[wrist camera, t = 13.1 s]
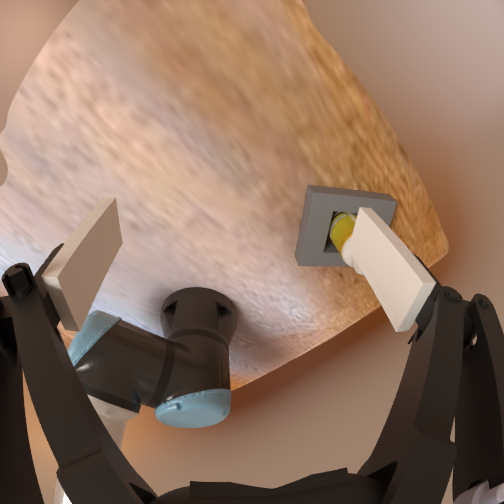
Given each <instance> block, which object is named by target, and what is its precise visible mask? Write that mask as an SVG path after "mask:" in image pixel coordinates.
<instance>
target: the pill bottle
mask: <svg viewBox="0 0 504 504" xmlns="http://www.w3.org/2000/svg"><path fill="white" fill-rule="evenodd" d="M356 219H357V214H356V213H349V212H336V213H335V214H333V215H332V218H331V223H330V227H329V231H328V235H329V237H330V239H331V240H332V242H333V243H334V245H335V247H336V248H337V250H338V252H339V253H340V255H341V257H342V258H343V260H344V262H345V263H346V264H347V265H349V266H351V267H353V268H354V269H355V271H356V272H357V273H359V274H361V275H364V274H363V272H362V271H361V269H360V267H359V266H358V264H357V262H356V261H355V259H354V258H353V256H352V254H351V253H350V251H349V249H348V247H349V244H350V240H351V237H352V233H353V230H354V226H355V223H356Z"/></svg>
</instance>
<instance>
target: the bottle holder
mask: <svg viewBox="0 0 504 504" xmlns="http://www.w3.org/2000/svg"><path fill="white" fill-rule="evenodd" d="M396 205H397V201H396V200H395V199H393V198H392V197H391V196H390V195H389V194H382V193H374V192H367V191H359V190H350V189H342V188H332V187H322V186H312V185H308V187H307V193H306V199H305V204H304V210H303V216H302V221H301V226H300V232H299V237H298V242H297V247H296V252H295V257H296V260H297V263H298V266H349V265H347V264H346V263H345V262H344V260H343V258H342V257H341V255H340V253H339V252H338V250H337V248H336V247H335V245H334V243H326V239H327V235H328V231H329V227H330V223H331V218H332V214H333V211H337V212H349V213H358V212H359V208H360V207H365V208H371V209H372V210H373V211H374V212H375V213H376V214H377V215H378V216H379V217H380V218H381V219H382V220H383V221H384V222H385V223H386V224H387V225H388V227H390V224H391V221H392V218H393V214H394V211H395V208H396Z"/></svg>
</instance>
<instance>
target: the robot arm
mask: <svg viewBox="0 0 504 504" xmlns="http://www.w3.org/2000/svg"><path fill="white" fill-rule="evenodd" d="M122 243H123V242H122V237H121V231H120V224H119V218H118V211H117V204H116V198H103V199H102V200H101V201H100V202H99V203H98V204H97V205H96V206H95V208H94V209H93V210H92V211H91V212H90V213H89V215H88V216H87V217H86V218H85V219H84V220H83V222H82V223H81V224H80V225H79V226H78V228H77V229H76V230H75V231H74V233H73V234H72V235H71V236H70V238H69V239H68V240H67V241H66V243H65V244H64V243H62V244H60V245H59V246H58V247H56V248H55V249H54V250H53V251H52V252H51V254H50V255H49V256H48V258H47V259H46V260H45V262H44V264H42V266H41V267H40V268H39V270H38V271H37V273H36V274H35V275H34V276H33V274H32V271H31V269H30V266H29V265H28V264H27V263H18V264H15V265H13V266H11V267H10V268H8V269H7V270H6V271H5V273H4V274H3V276H2V282H3V284H4V286H5V288H6V290H7V292H8V294H9V296H4V297H0V504H44V501H43V498H42V494H41V491H40V487H39V484H38V480H37V476H36V473H35V468H34V464H33V459H32V455H31V450H30V444H29V439H28V432H27V425H26V417H25V407H24V395H23V375H22V374H23V372H24V375H25V379H26V383H27V386H28V390H29V392H30V396H31V399H32V402H33V405H34V408H35V411H36V414H37V416H38V419H39V422H40V424H41V427H42V429H43V432H44V434H45V436H46V439H47V441H48V443H49V445H50V448H51V450H52V452H53V454H54V456H55V458H56V460H57V463H58V465H59V468H58V470H57V472H56V473H57V482H56V490H55V500H54V504H441V502H442V499H443V496H444V493H445V491H446V488H447V485H448V482H449V478H450V475H451V472H452V469H453V483H452V485H453V486H452V487H453V488H452V489H453V504H504V334H503V331H502V328H501V325H500V322H499V319H498V317H497V314H496V311H495V309H494V306H493V304H492V303H491V302H490V300H489V299H488V298H487V297H486V296H485V295H482V294H475V295H474V297H473V299H472V300H471V302H469V301H465V300H463V298H462V296H461V295H460V294H459V293H458V292H457V291H456V290H454V289H453V288H451V287H447V286H443V287H442V286H441V285H440V283H439V282H438V281H437V279H436V278H435V277H434V275H433V274H432V273H431V272H430V271H429V269H428V268H427V267H426V266H424V263H423V262H422V261H421V260H420V258H419V257H417V256H416V255H415V254H413V253H412V252H411V251H410V250H409V249H408V248H407V247H406V246H405V244H404V243H403V242H402V241H401V240H400V239H399V238H398V236H397V235H396V234H395V233H394V232H393V231H392V230H391V229H390V228H389V227H388V225H387V224H386V223H385V222H384V221H383V220H382V219H381V218H380V217H379V216H378V215H377V214H376V213H375V212H374V211H373V210H372V209H371V208H365V207H360V208H359V212H358V215H357V219H356V223H355V226H354V230H353V233H352V237H351V240H350V244H349V247H348V249H349V251H350V253H351V254H352V256H353V258H354V259H355V261H356V262H357V264H358V266H359V267H360V269H361V271H362V272H363V274H364V276H365V277H366V279H367V281H368V282H369V284H370V286H371V288H372V289H373V291H374V293H375V294H376V296H377V298H378V300H379V302H380V303H381V305H382V307H383V309H384V310H385V312H386V314H387V316H388V318H389V320H390V321H391V323H392V325H393V327H394V329H395V331H396V332H401V331H407V330H410V328H411V326H412V325H413V323H414V321H416V323H417V324H418V328H417V329H416V331H415V333H414V334H413V336H412V337H411V339H410V340H409V342H408V344H410V343H411V341H413V342H412V345H411V349H410V353H409V357H408V360H407V363H406V367H405V370H404V373H403V376H402V379H401V382H400V385H399V388H398V391H397V394H396V398H395V400H394V402H393V405H392V408H391V410H390V413H389V416H388V418H387V420H386V423H385V426H384V428H383V430H382V432H381V435H380V437H379V439H378V441H377V444H376V446H375V448H374V450H373V452H372V454H371V456H370V457H369V459H368V460H367V461H366V462H365V463H364V465H363V466H362V467H361V468H360V470H359V471H358V473H357V474H352V473H348V471H347V468H342V469H338V470H333V471H329V472H323V473H318V474H312V475H310V476H307V477H305V478H302V479H300V480H297V481H295V482H292V483H289V484H287V485H284V486H281V487H278V488H274V489H269V488H261V487H254V486H248V485H243V484H237V483H232V482H196V481H190V486H188V487H182V488H179V489H175V490H172V491H170V492H168V493H165V494H163V495H161V496H159V497H158V496H157V495H156V493H155V492H154V491H153V490H152V489H151V488H150V486H149V485H148V484H147V483H146V482H145V481H144V480H143V479H142V477H141V476H140V475H139V474H137V472H136V471H135V470H134V469H133V467H132V466H131V465H130V463H129V462H128V461H127V459H126V458H125V456H124V455H123V454H122V452H121V451H120V449H121V444H122V439H123V434H124V430H125V426H126V422H127V421H128V420H130V419H132V418H134V417H136V416H138V414H139V411H140V407H141V405H145V406H148V407H151V408H155V415H156V418H157V420H158V421H160V422H162V423H163V424H165V425H168V426H173V427H179V428H199V427H205V426H210V425H213V424H216V423H219V422H221V421H222V420H224V419H225V418H226V417H227V415H228V414H229V412H230V403H231V402H230V401H231V394H232V393H231V391H230V371H229V345H230V342H231V339H232V337H233V334H234V332H235V329H236V324H237V318H236V310H235V307H234V305H233V304H232V303H231V301H230V300H229V299H228V298H226V297H225V296H224V295H222V294H220V293H218V292H216V291H213V290H210V289H206V288H186V289H182V290H179V291H176V292H174V293H173V294H171V295H170V296H169V297H168V298H167V299H166V300H165V302H164V304H163V307H162V311H161V324H162V329H163V333H164V338H163V337H160V336H158V335H155V334H153V333H151V332H148V331H146V330H144V329H141V328H139V327H137V326H135V325H132V324H130V323H128V322H126V321H123V320H121V319H122V318H120V317H118V318H117V317H115V316H112V315H110V314H107V313H105V312H103V311H99V310H97V311H93V312H91V313H90V314H89V315H88V312H89V310H90V308H91V305H92V303H93V301H94V299H95V297H96V294H97V292H98V290H99V288H100V286H101V284H102V282H103V280H104V278H105V276H106V274H107V272H108V270H109V268H110V266H111V264H112V262H113V260H114V258H115V256H116V254H117V252H118V250H119V248H120V246H121V245H122ZM87 315H88V316H87ZM60 320H61V322H62V324H63V326H64V328H65V330H71V331H77V333H76V335H75V337H74V339H73V341H72V343H71V345H70V347H69V349H68V351H67V350H66V347H65V345H64V342H63V340H62V337H61V334H60V332H59V330H58V328H57V325H58V323H59V321H60ZM476 335H477V341H476V343H475V345H473V342H472V341H473V339H474V338H475V337H476ZM22 368H23V372H22ZM454 416H455V443H454V442H451V440H450V435H451V430H452V425H453V421H454ZM453 465H454V467H453Z"/></svg>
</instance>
